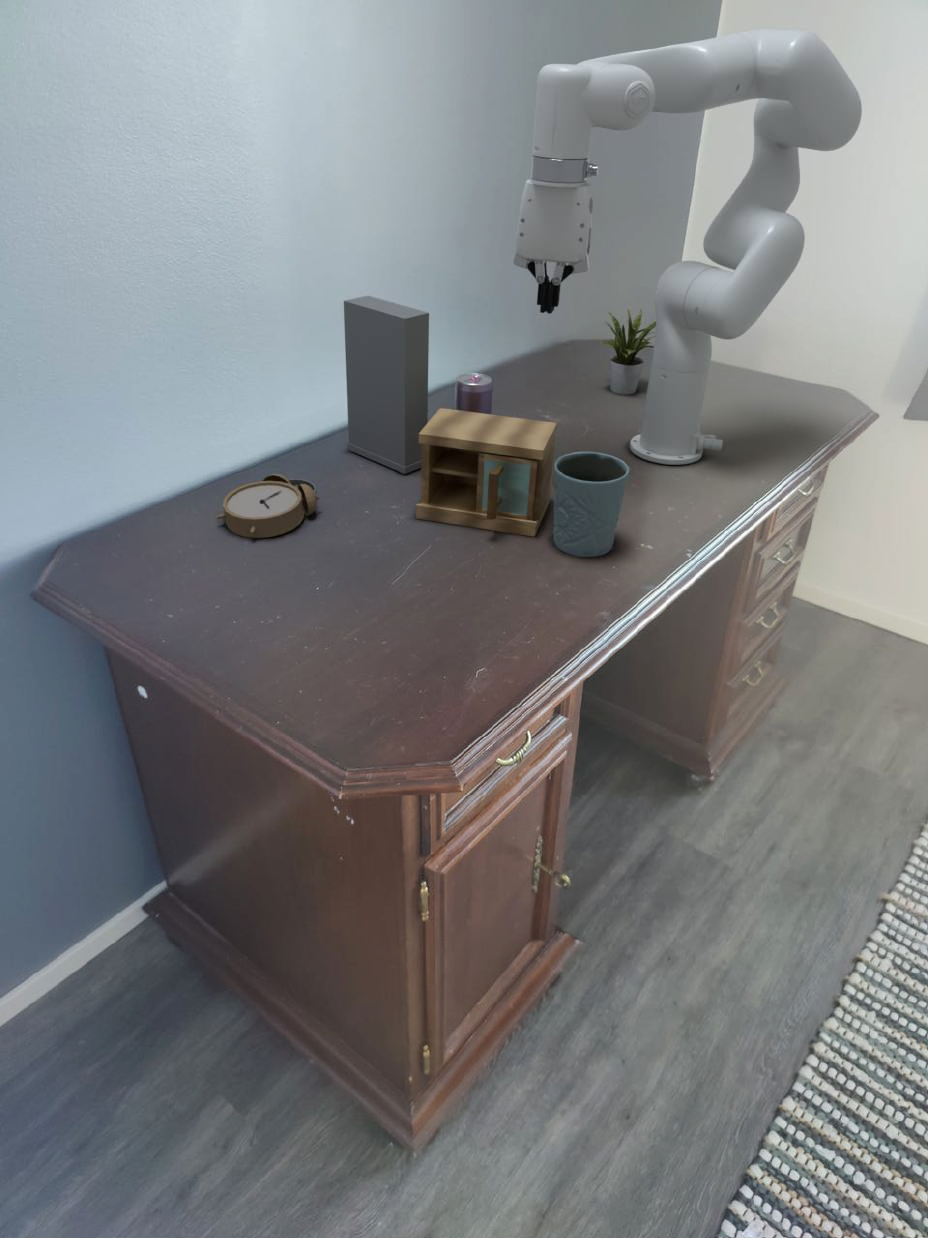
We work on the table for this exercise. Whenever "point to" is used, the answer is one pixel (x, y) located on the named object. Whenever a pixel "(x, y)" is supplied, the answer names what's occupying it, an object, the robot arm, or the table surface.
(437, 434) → the curio cabinet
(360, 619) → the table surface
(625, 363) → the house plant
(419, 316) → the cassette tape recorder
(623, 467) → the blue-grey pot
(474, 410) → the beverage can
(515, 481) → the cabinet door
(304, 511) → the alarm clock
